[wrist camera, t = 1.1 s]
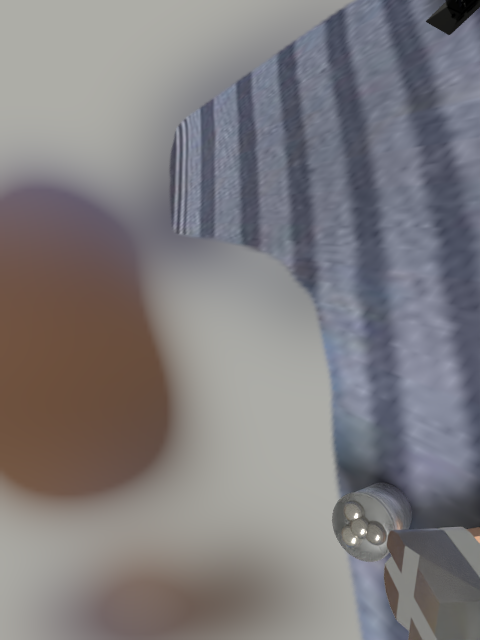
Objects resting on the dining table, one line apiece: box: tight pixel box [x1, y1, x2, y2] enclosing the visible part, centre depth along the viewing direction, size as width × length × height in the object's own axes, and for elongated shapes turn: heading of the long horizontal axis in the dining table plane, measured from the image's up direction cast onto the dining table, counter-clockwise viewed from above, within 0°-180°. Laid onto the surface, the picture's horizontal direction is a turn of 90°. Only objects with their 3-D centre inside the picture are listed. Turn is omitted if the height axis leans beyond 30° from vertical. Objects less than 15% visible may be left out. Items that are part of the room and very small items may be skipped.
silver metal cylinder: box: [332, 483, 412, 562], centre depth 37 cm, size 6×6×11 cm
